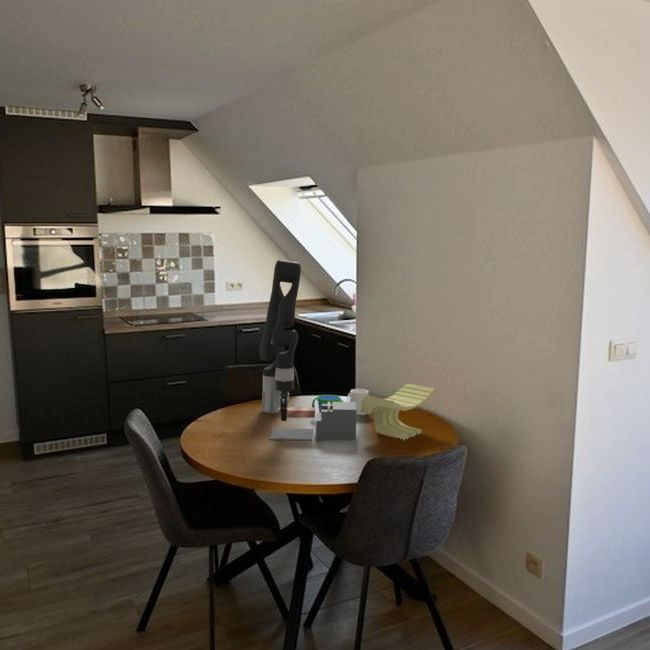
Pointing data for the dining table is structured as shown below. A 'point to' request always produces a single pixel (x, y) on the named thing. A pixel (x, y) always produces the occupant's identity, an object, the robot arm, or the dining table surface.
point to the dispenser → (337, 422)
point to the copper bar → (298, 412)
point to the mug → (358, 398)
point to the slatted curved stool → (396, 409)
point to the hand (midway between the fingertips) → (284, 418)
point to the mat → (291, 434)
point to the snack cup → (326, 400)
